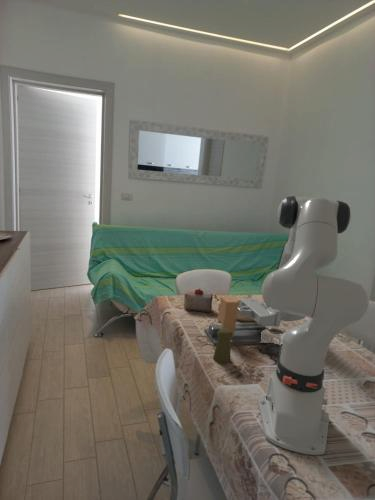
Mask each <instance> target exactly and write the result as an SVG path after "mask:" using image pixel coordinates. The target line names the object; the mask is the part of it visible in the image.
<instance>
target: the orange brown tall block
mask: <svg viewBox="0 0 375 500" xmlns="http://www.w3.org/2000/svg"><path fill="white" fill-rule="evenodd" d="M219 301H220V302H219V304H220V308H219V307H218V308H219V310H218V315H217V317H218V318H217V323H222V328H227V329H229V330H231V331H232V334H233V336H232V337H234V333H235V326H236V323H237V321H236V318H237V311H238V303H239V302H238V301H239V300H238V301H237V299H236V298H235V297H234V296H220V300H219Z"/></svg>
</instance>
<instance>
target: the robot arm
mask: <svg viewBox="0 0 375 500" xmlns="http://www.w3.org/2000/svg"><path fill="white" fill-rule="evenodd" d="M276 213H277V220H278V223H279V225H280V227H282V228H285V229H289V230H290V231H289V237H288V239H287V241H285V243H284V245H283V246H282V247H283V248H282V250H281V253H280V257H279V261H278V265H277V267H276V269H275V270H273V271H272V272H270V273H268V275H267V276H266V277H265V278H264V279H263V283H262V285H261V297H262V299H263V301H262V302H261V301H259V300H258V299H257V298H256V299H255V298H249V297H248V298H247V297H242V298H240V299H239V301H240V302H239V306H240V307H238V311H237V312H238V313H239V314H240V315H247V316H251V317H252V318H253V319H254V320H255V321H256V322H257V323H258V324H259V325H262V326H265V327H273V326H274V327H278V328H279V327H280V326H281V322H282V321H284V322H295V321H296V322H298V321H300V320H304V319H305V318H309V319H308V320H307V321H306V322H304V323H302V324H298V325H295V326H292V327H290V328H289V329H288V330H287V331H286V332H285V333H284V335H283V337H282V344H281V349H280V350H281V351H280V356H279V357H278V360H277V363H276V371H275V373H273V374H272V375H270V376H269V379H268V382H267V383H268V384H267V389H266V393H265V396H264V397H260V398H258V401H257V405H258V409H259V415H260V419H261V423H262V429H263V432H264V433H263V434H264V437H265V439H266V440H267V441H269V442H270V443H272V444H273V445H276V446H277V447H279V448H283V449H286V450H289V451H292V452H295V453H299V454H303V455H310V456H320V455H321V456H322V455H325V454H326V449H327V441H328V433H329V424H330V415H329V412H327V411H326V410H325V409H324V408H323V406H327V405H328V399H325V395H326V391H327V389H326V388H325V386H323V383H324V380H325V370H324V365H325V361H326V357H327V354H328V350H329V347H330V345H331V343H332V341H333V340H334V338H335V337H336V336H337V335H338V334H339V333H340V332H341V331H343V330H344V329H345V328H347V327H348V326H350V325H352V324H353V325H354V323H355V324H356V323H357V322H360V321H361V320H362V319H363V318H364V317H365V315H366V314H367V313H368V309H369V305H370V304H369V303H370V300H369V296H368V293H367V291H366V289H365V288H364V286H363V285H362V284H359V283H357V282H353V281H351V280H348V279H345V278H340V277H339V278H338V277H332V276H325V275H319V274H315V273H313V272H315V271H317V270H321V269H324V268H326V267H328V266H330V265H331V264H333V263H334V262H335V260H336V259H337V257H338V238H339V237H338V236H339V235H338V234H342V233H344V232H346V230H347V229H348V227H349V225H350V223H351V219H352V213H351V208H350V206H349V204H348V203H347V202H344V201H341V200H331V199H328V198H324V197H321V196H320V197H318V196H317V197H315V196H295V195H291V196H285V197H284V198H283V199H282V200H281V202H280V203H279V205H278V208H277V212H276Z"/></svg>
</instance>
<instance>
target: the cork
mask: <svg viewBox="0 0 375 500" xmlns="http://www.w3.org/2000/svg"><path fill="white" fill-rule="evenodd" d="M217 336H218V342H217V345H215V346H216V347H215V350H214V353H213V357H212V360H213V361H214V362H216V363H217V364H221V365H227V364H230V363H231V361H232V360H231V345H230V340H231V339H232V336H233V334H232V331H231V330H229V329H227V328H221V329H219V330H218V333H217Z"/></svg>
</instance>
